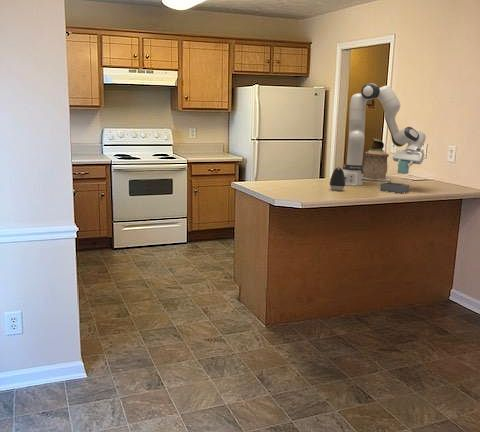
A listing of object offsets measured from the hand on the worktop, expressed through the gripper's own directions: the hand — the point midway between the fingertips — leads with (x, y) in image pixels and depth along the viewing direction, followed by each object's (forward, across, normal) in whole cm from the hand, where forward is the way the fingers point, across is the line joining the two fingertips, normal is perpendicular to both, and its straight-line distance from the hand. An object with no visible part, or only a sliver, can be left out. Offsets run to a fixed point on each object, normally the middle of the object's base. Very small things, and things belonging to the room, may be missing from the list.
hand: (403, 166), depth 350 cm
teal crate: (+3, 0, +4) cm, 5 cm away
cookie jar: (-16, -43, +40) cm, 61 cm away
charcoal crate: (+16, -1, +8) cm, 18 cm away
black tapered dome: (+38, -26, -13) cm, 49 cm away
